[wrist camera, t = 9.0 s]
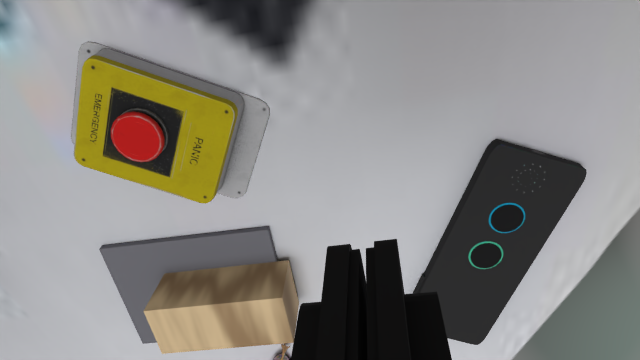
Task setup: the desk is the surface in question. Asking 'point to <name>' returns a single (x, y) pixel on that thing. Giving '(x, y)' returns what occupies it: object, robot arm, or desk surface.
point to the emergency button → (163, 126)
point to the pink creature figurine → (282, 358)
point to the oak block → (224, 308)
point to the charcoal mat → (179, 263)
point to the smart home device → (497, 235)
